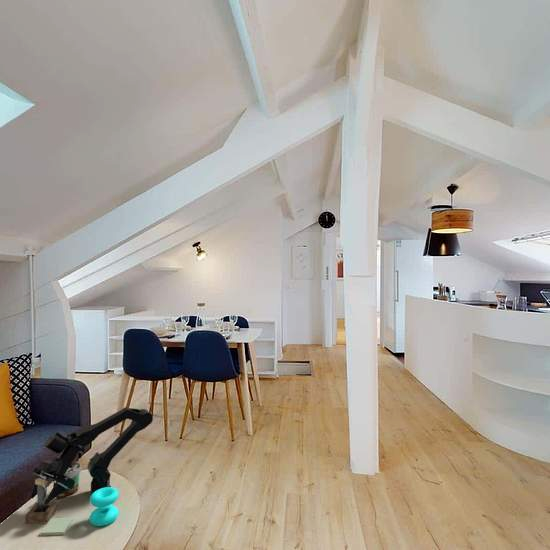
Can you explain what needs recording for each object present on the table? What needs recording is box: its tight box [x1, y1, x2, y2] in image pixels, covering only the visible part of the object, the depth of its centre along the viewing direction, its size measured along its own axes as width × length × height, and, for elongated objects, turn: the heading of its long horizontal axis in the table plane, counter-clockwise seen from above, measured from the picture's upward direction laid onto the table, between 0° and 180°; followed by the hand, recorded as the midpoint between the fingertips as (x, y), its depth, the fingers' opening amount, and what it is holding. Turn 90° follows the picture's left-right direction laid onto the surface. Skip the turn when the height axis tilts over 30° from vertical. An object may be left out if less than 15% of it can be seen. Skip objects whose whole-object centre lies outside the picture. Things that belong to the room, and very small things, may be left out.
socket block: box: [24, 501, 59, 525], centre depth 146 cm, size 8×8×3 cm
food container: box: [55, 461, 82, 499], centre depth 162 cm, size 12×6×10 cm, turn 168°
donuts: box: [89, 486, 120, 527], centre depth 145 cm, size 10×10×10 cm
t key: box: [34, 478, 50, 512], centre depth 146 cm, size 6×3×14 cm, turn 64°
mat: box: [39, 517, 75, 537], centre depth 140 cm, size 8×8×1 cm
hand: (38, 500), depth 145 cm, fingers open, 8 cm apart
